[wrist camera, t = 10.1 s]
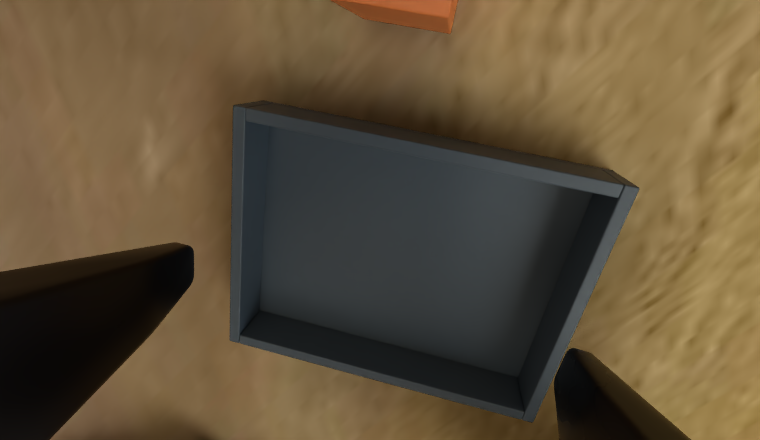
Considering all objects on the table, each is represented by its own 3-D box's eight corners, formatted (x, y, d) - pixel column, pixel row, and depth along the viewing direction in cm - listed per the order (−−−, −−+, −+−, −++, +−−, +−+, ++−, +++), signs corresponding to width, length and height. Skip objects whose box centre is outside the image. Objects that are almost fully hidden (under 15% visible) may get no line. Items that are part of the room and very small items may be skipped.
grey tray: (612, 170, 18) (640, 187, 15) (523, 382, 23) (533, 423, 20) (263, 100, 19) (232, 104, 17) (253, 311, 25) (229, 340, 22)
